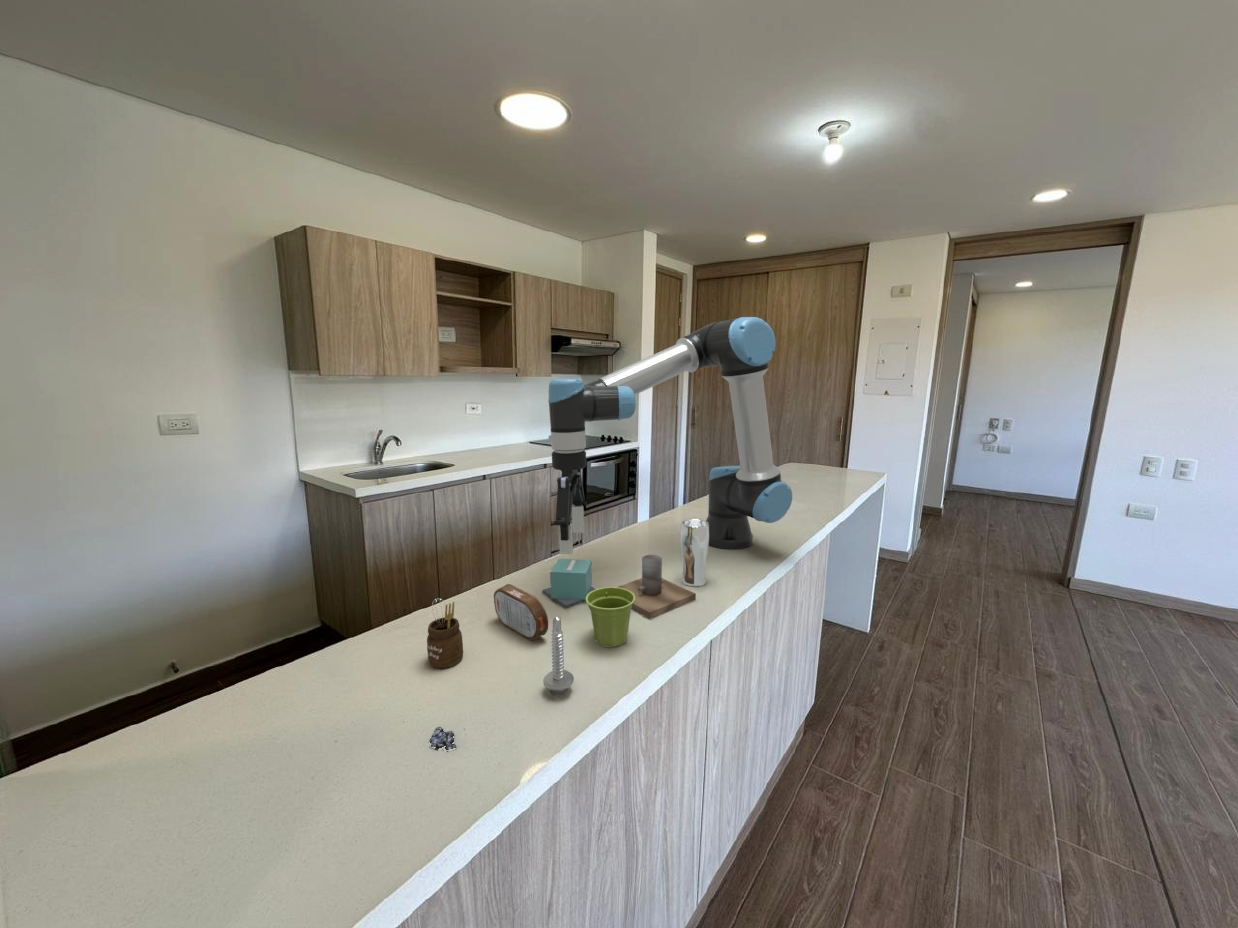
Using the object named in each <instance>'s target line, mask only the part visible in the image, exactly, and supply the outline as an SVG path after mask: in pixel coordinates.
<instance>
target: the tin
mask: <svg viewBox="0 0 1238 928" xmlns="http://www.w3.org/2000/svg"><path fill="white" fill-rule="evenodd" d="M493 603H494V609H495V613H496V615H497V617H498V618H499V620H500V622H501V623H502V624H503V625H504V626H505V625H506V626H505V627H507V628H508V629H510V630H512V631H514V632H515V633H517V634H518V635H521V636H522V637H524V638H525V639H527V640H530V641H533V640H536V639H538V638H540V637H542V636H544V635H546V634H547V632H548V630H549V618H548V615H547V612H546V610H545V607H544V605H543V604H542V602H541V601H540V600H539V599H538V597H536V596H534V595H532V593H529V592H527V591H524V590H522V589H521V588H519V587H517V586H515V585H513V584H511V583H507V584H505V585H504V586H502V587H499V588H497V589H496V590H495V591H494V593H493Z"/></svg>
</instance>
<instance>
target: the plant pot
mask: <svg viewBox="0 0 1238 928" xmlns="http://www.w3.org/2000/svg"><path fill="white" fill-rule="evenodd" d="M595 589H596V590H593V591H591V592H590V593H588V594H587V596H586V604H587V605H588V609H589V611H590V614H591V615H590V616H591V622H592V626H593V633H594V640H595V641H596V642H597V644H598V645H599V646H602V647H605V648H613V647H615V646H622V645H624V643H626V642H627V641H628V635H629V633H628V632H629V626H630V620H631V619H630V618H631V611H632V609H631V608H632V605H633V603H634V601H635V595H634V594H633V593H632V592H631V591H629V590H627V589H624V588H619V587H618V586H615V587H614V586H606V587H600V588H595Z"/></svg>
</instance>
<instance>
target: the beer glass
mask: <svg viewBox="0 0 1238 928" xmlns="http://www.w3.org/2000/svg"><path fill="white" fill-rule="evenodd" d="M680 524H681V526H680V533H679V534H680V535H679V537H680V538H679V539H680V540H679V541H680V542H679V543H680V545H679V546H680V553H681V560H682V575H681V579H680V580H681V583H682V584H683V585H685V586H688V587H691V588H692V587H695V588H697V587H703V586H705V585H706V584H707V577H706V564H707V560H708V559H707V558H708V553H709V550H710V545H709V523H708V522H707V521H706V520H704V519H699V518H688V519H684V520H682V521H681V523H680Z"/></svg>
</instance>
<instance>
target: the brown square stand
mask: <svg viewBox="0 0 1238 928" xmlns="http://www.w3.org/2000/svg"><path fill="white" fill-rule="evenodd" d="M662 562H663V558H662V557H661V556H660V555H658V554H646V555H643V556H642V557H641V578H638V579H636V580H633V581H630V582H627V583H625V584H621V585H619V586H617V587H619V588H624V589H627V590H629V591H631V592H632V593H633V594H634V595H635V601H634V603H633V605H632V608H631V611H632V610H633V611H634V612H636V613H638V614H640V615H642V616H643V617H644V618H647V619H648V620H652V619H654V618H656V617H658V616H660V615H663V614H667V613H668V612H670V611H672V610H675V609H677V608H679V607H682V606H684V605H687V604H690V603H691V602H693V601H696V600H697V597H696V596H697V594H696V592H693V591H691V590H689V589H686V588H684V587H683V586H680V585H678V584H677V583H673V582H671V581H669V580H667V579H665V578H664V577H662V570H663V568H662V567H663V563H662Z"/></svg>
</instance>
